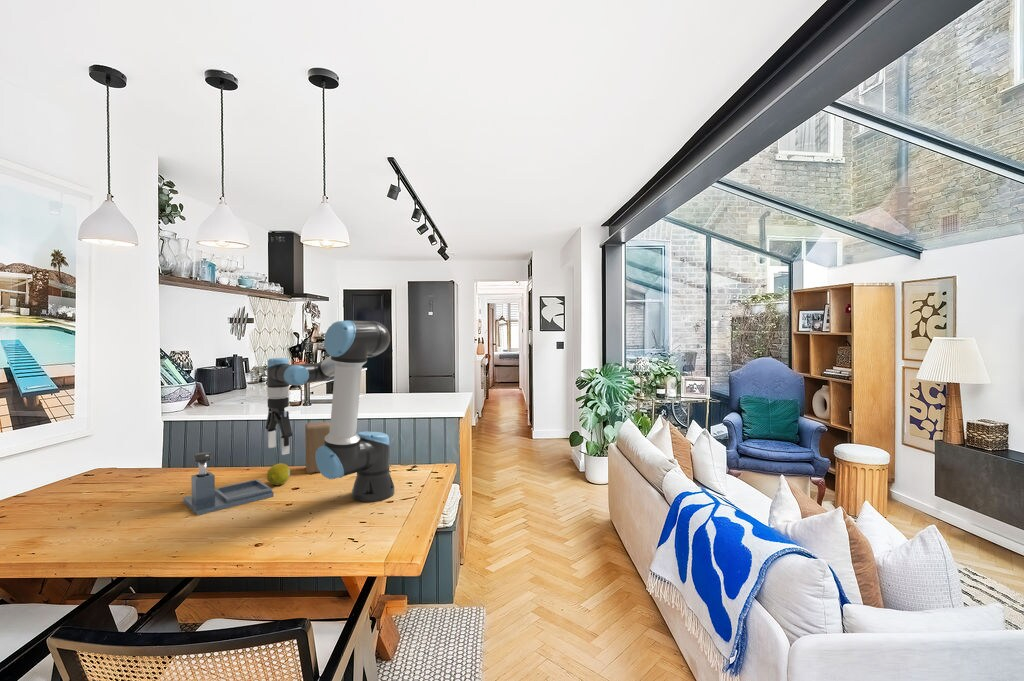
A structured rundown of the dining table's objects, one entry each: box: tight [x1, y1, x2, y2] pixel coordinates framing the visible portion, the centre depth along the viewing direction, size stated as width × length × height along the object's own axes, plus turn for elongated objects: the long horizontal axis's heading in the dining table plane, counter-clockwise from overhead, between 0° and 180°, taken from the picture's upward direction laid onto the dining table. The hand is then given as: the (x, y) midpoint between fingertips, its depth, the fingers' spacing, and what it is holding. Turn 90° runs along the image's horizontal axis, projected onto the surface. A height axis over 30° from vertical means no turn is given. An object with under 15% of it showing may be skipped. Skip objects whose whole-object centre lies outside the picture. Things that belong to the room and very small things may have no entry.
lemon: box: [266, 462, 291, 486], centre depth 187 cm, size 11×8×8 cm
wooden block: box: [304, 421, 331, 474], centre depth 206 cm, size 10×10×20 cm
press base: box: [182, 471, 275, 516], centre depth 171 cm, size 18×24×10 cm
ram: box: [193, 451, 212, 477], centre depth 165 cm, size 5×5×10 cm
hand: (278, 450), depth 187 cm, fingers open, 13 cm apart
